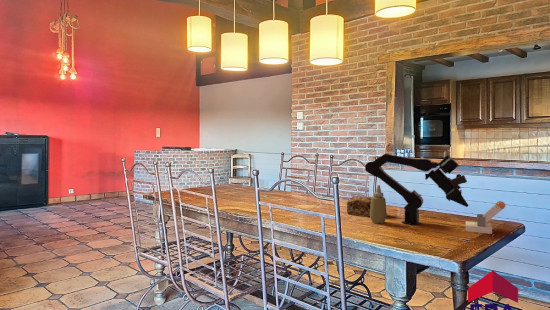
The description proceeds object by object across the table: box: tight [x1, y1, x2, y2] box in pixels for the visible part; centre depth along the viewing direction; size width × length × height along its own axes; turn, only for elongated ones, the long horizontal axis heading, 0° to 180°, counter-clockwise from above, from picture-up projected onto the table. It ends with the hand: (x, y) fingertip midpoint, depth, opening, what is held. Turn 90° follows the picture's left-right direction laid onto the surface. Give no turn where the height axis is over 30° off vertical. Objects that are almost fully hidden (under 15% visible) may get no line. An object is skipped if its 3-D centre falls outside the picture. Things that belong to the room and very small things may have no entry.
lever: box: [481, 200, 506, 224], centre depth 162 cm, size 4×5×14 cm
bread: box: [346, 195, 373, 217], centre depth 199 cm, size 19×11×10 cm, turn 57°
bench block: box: [465, 213, 493, 235], centre depth 165 cm, size 10×10×6 cm
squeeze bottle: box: [369, 185, 388, 224], centre depth 180 cm, size 8×8×18 cm
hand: (467, 206), depth 167 cm, fingers closed
